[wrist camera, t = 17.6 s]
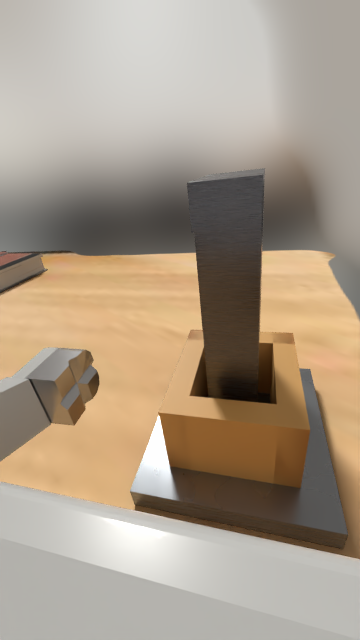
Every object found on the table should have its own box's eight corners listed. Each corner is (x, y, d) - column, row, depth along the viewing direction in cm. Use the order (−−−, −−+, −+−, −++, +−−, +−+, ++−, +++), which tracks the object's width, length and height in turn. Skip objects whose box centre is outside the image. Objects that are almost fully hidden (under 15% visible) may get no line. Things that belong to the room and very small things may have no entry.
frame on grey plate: (343, 548, 15) (369, 475, 12) (134, 504, 18) (111, 437, 15) (308, 382, 26) (317, 320, 23) (181, 372, 29) (174, 317, 26)
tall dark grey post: (255, 465, 19) (263, 174, 11) (212, 458, 20) (187, 182, 11) (257, 410, 23) (264, 168, 15) (221, 406, 24) (208, 174, 16)
